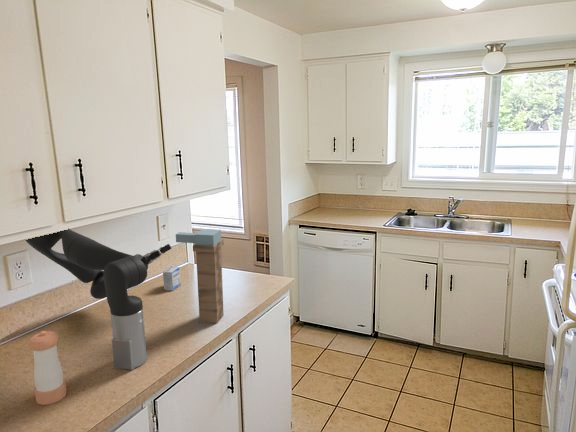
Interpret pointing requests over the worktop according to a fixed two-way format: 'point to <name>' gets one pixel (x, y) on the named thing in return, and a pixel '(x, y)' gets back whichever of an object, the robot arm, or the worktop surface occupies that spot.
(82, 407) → the worktop surface
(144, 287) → the worktop surface
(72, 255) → the robot arm
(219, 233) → the blue-grey stepped block
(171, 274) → the medicine box
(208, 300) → the walnut stand
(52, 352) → the salt shaker
